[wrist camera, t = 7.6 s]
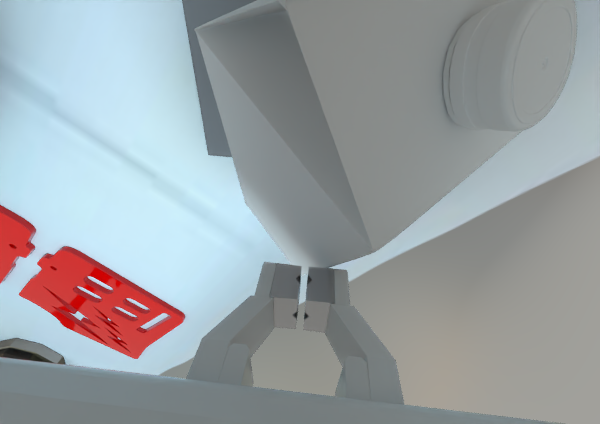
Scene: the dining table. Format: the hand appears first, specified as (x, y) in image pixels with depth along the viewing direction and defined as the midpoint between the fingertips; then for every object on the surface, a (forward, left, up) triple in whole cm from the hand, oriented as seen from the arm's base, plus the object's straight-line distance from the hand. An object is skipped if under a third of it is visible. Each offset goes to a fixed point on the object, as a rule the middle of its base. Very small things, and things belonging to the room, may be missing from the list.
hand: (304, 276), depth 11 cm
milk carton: (+5, 0, -10) cm, 11 cm away
